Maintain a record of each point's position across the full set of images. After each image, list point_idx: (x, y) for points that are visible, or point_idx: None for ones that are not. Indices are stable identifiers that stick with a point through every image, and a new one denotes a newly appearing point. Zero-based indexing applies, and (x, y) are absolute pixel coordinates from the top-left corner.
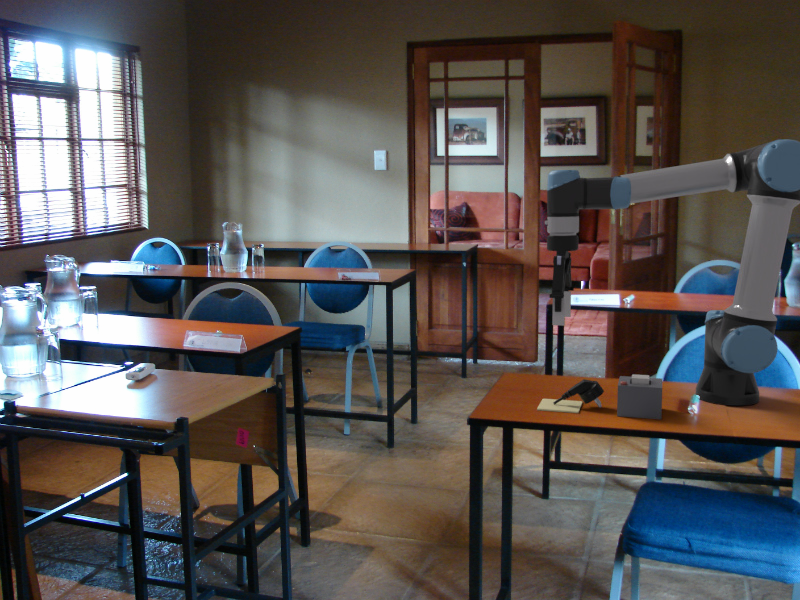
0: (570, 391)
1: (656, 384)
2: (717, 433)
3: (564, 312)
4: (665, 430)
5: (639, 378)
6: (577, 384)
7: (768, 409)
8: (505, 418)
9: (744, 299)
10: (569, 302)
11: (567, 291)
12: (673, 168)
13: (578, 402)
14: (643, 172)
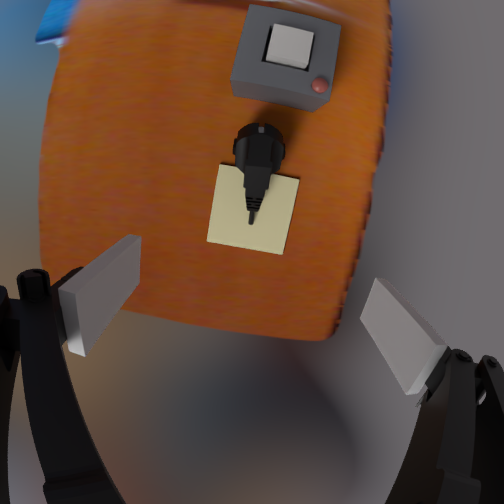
0: (264, 195)
1: (310, 25)
2: (381, 9)
3: (131, 270)
4: (383, 63)
5: (310, 49)
6: (256, 180)
7: None
8: (331, 302)
9: None
10: (111, 268)
11: (78, 314)
12: None
13: (230, 172)
14: None
